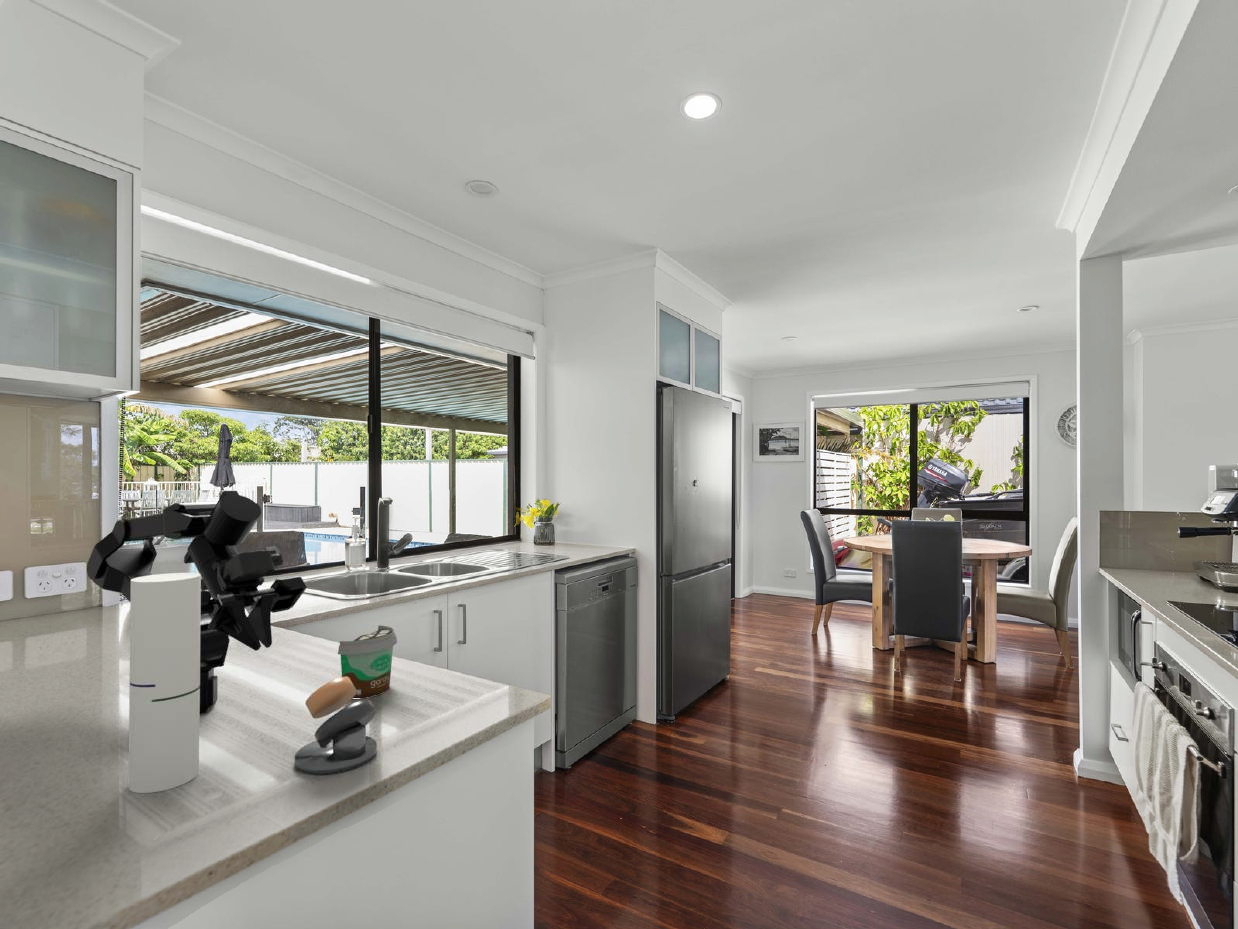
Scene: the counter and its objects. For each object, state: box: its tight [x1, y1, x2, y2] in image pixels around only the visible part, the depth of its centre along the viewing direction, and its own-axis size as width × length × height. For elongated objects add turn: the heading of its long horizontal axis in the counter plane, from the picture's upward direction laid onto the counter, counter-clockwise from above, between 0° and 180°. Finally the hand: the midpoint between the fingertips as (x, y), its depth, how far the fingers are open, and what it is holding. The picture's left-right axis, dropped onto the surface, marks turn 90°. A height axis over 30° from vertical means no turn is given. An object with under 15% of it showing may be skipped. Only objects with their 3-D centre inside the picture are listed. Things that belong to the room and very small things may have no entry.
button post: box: [294, 699, 378, 776], centre depth 85 cm, size 10×10×8 cm
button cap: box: [305, 676, 357, 720], centre depth 86 cm, size 6×6×6 cm
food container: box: [337, 624, 398, 699], centre depth 111 cm, size 12×6×10 cm, turn 168°
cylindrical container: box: [127, 572, 202, 794], centre depth 79 cm, size 7×7×25 cm
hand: (264, 647), depth 93 cm, fingers closed
